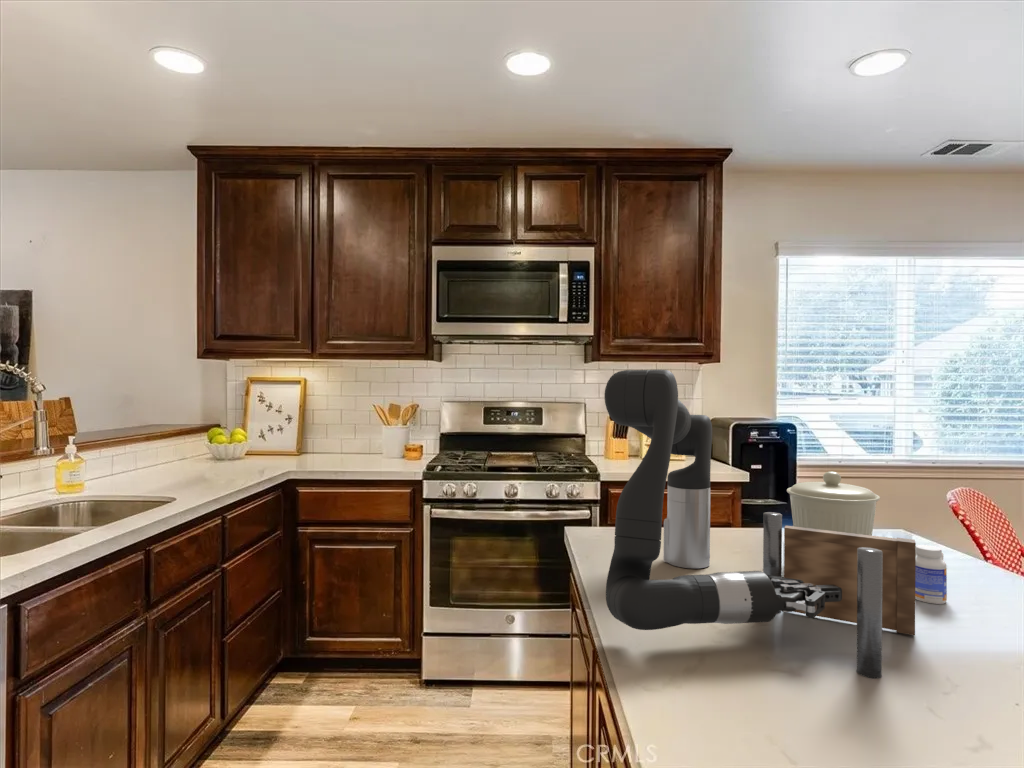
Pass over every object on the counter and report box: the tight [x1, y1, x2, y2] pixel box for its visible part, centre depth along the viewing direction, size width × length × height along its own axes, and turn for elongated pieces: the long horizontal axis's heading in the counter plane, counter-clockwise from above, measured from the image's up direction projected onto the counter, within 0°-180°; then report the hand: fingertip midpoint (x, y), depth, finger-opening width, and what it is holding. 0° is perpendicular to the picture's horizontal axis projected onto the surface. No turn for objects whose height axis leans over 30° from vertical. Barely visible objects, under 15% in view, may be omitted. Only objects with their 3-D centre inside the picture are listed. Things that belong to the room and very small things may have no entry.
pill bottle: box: [915, 544, 948, 605], centre depth 112 cm, size 5×5×10 cm
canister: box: [786, 471, 881, 536], centre depth 131 cm, size 18×18×21 cm
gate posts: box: [762, 511, 883, 679], centre depth 94 cm, size 26×3×17 cm, turn 8°
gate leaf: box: [783, 525, 917, 636], centre depth 100 cm, size 19×2×15 cm, turn 59°
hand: (838, 592), depth 94 cm, fingers closed
